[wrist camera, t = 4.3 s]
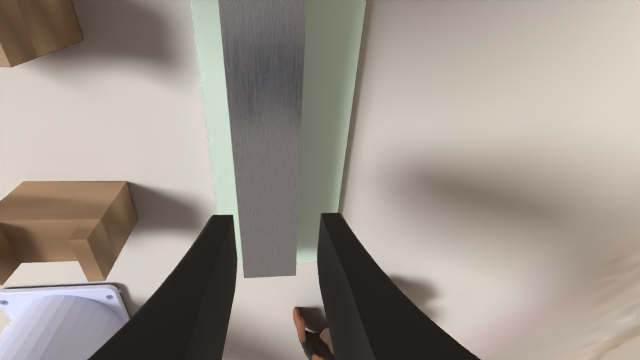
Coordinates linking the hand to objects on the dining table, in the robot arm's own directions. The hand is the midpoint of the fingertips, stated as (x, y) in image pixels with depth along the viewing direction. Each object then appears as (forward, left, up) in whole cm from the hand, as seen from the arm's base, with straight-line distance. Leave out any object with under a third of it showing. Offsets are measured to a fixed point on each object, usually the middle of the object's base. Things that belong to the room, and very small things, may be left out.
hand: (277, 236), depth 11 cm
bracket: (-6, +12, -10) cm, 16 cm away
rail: (0, +2, -7) cm, 8 cm away
